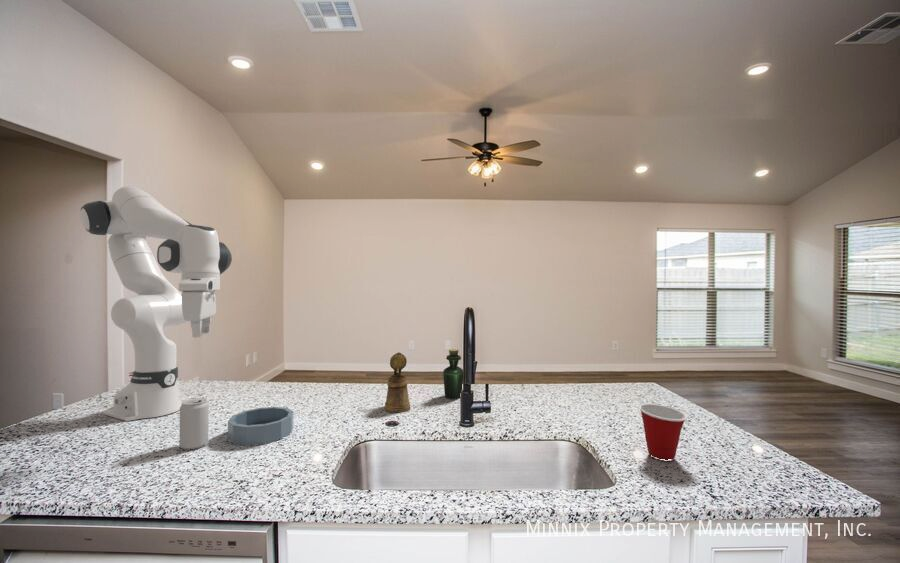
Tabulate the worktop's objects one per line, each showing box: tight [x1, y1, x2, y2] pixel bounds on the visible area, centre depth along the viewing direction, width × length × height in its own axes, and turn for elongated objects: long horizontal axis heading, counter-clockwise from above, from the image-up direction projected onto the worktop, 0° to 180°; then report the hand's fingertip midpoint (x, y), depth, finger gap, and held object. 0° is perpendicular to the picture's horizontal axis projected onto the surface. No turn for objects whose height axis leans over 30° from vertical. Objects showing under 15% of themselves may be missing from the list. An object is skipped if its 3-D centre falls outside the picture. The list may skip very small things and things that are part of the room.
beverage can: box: [178, 397, 210, 451], centre depth 103 cm, size 6×6×12 cm
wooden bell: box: [384, 352, 411, 413], centre depth 137 cm, size 9×14×18 cm, turn 5°
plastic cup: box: [638, 403, 688, 460], centre depth 99 cm, size 11×11×12 cm
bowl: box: [227, 406, 294, 446], centre depth 112 cm, size 16×16×5 cm
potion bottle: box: [442, 348, 464, 400], centre depth 150 cm, size 8×8×18 cm
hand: (201, 335), depth 105 cm, fingers open, 8 cm apart
